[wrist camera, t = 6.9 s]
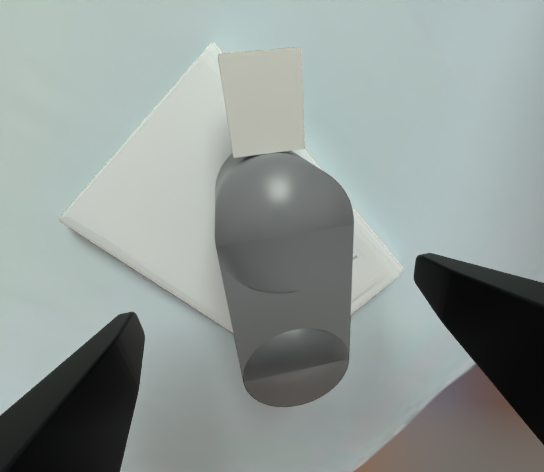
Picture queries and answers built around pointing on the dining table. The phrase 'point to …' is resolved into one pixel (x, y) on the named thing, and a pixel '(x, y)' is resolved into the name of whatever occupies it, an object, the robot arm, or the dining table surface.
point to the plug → (281, 236)
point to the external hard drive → (188, 200)
